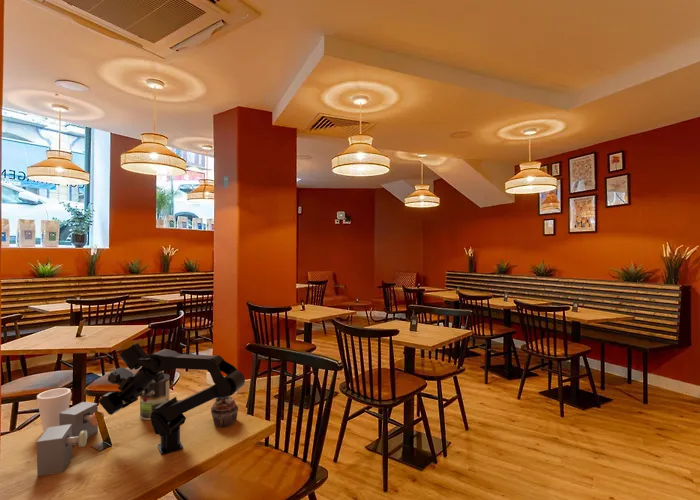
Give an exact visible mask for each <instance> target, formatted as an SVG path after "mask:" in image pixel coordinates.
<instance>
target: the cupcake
mask: <svg viewBox="0 0 700 500" xmlns="http://www.w3.org/2000/svg"><path fill="white" fill-rule="evenodd" d="M238 412H239V406H238V405H237V403H236V401H235V400H234V398H232V396H228V397H223V398H215V400H214V402H213V404H212V406H211V407H210V413H211V417H212V421H213V424H214V426H215V427H217V428H226V427H230V426H233V425H235V423H236V422H237V418H238ZM232 424H233V425H232Z"/></svg>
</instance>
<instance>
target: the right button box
mask: <svg viewBox="0 0 700 500" xmlns="http://www.w3.org/2000/svg"><path fill="white" fill-rule="evenodd" d="M98 408H99V407H98V403H96V402H87V401H81V402H79V403H77V404H75V405H73V406H72V407H69V409H67V410H65V411H63V412H61V413H59V420H60V426H61V425H69V424H72V437H75V436H79V434H80V432H81V431H85V430H86V431H87V439H88V438H90V437H91V436H93V435H95V434H96V433H98V432H99V426H92V425H91V423H90V421H85V420H83V415H84V414H85V415H93V414H94V413H95V411H98V412H99V410H98ZM77 445H78V443H72V446H77Z"/></svg>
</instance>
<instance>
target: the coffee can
mask: <svg viewBox="0 0 700 500" xmlns="http://www.w3.org/2000/svg"><path fill="white" fill-rule="evenodd" d="M163 375H164V379H163V380H161V381H159V382H158V383H156V382H155V381H153V382H152V383H151V384H152V385H153V390H152V391H151V392H150V393H149V394H147V395H144V393H145V391H143V392H142V393H143V394H142V395H141V396H139V401H140V402H139V410H140V411H139V412H140V414H139V418H140V419H141V420H144V421H151V413H152V412H154V411H155V410H154V408H156V407H158V406H159V405H161V404H162V403H164V402H165V401H167V400H170V377H171V376H170V374H169V373H165V372H164V373H163Z"/></svg>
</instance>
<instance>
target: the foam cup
mask: <svg viewBox="0 0 700 500" xmlns="http://www.w3.org/2000/svg"><path fill="white" fill-rule="evenodd" d="M71 391H72V390H71V389H70V388H67V387H58V388H53V389H48V390H45V391H43V392H40V393H38V394H37V395H36V403H37V405H38V411H39V415H40V420H41V421H40V422H41V426H42V431H43V433H44V432H45V431H46V430H47V428H48V427H54V426H60V420H59V413H61V412H63V411H65V410H67V409H69V408H70V401H71V397H72V395H71V393H72V392H71Z"/></svg>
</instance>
